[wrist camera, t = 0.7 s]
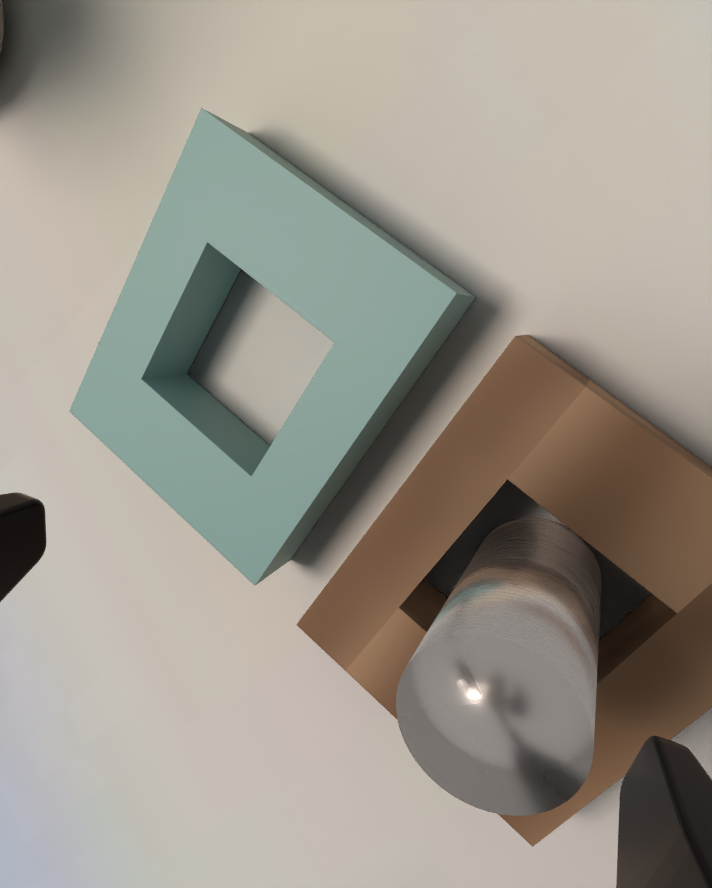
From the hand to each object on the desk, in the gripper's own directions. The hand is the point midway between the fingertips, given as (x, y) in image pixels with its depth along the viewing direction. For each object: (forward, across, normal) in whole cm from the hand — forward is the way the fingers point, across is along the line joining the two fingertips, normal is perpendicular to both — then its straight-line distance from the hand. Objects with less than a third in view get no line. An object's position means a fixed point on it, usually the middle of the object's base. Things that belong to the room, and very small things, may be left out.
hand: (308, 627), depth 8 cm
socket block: (+11, -4, +5) cm, 13 cm away
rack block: (+13, +7, +1) cm, 15 cm away
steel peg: (+11, -4, +5) cm, 13 cm away
